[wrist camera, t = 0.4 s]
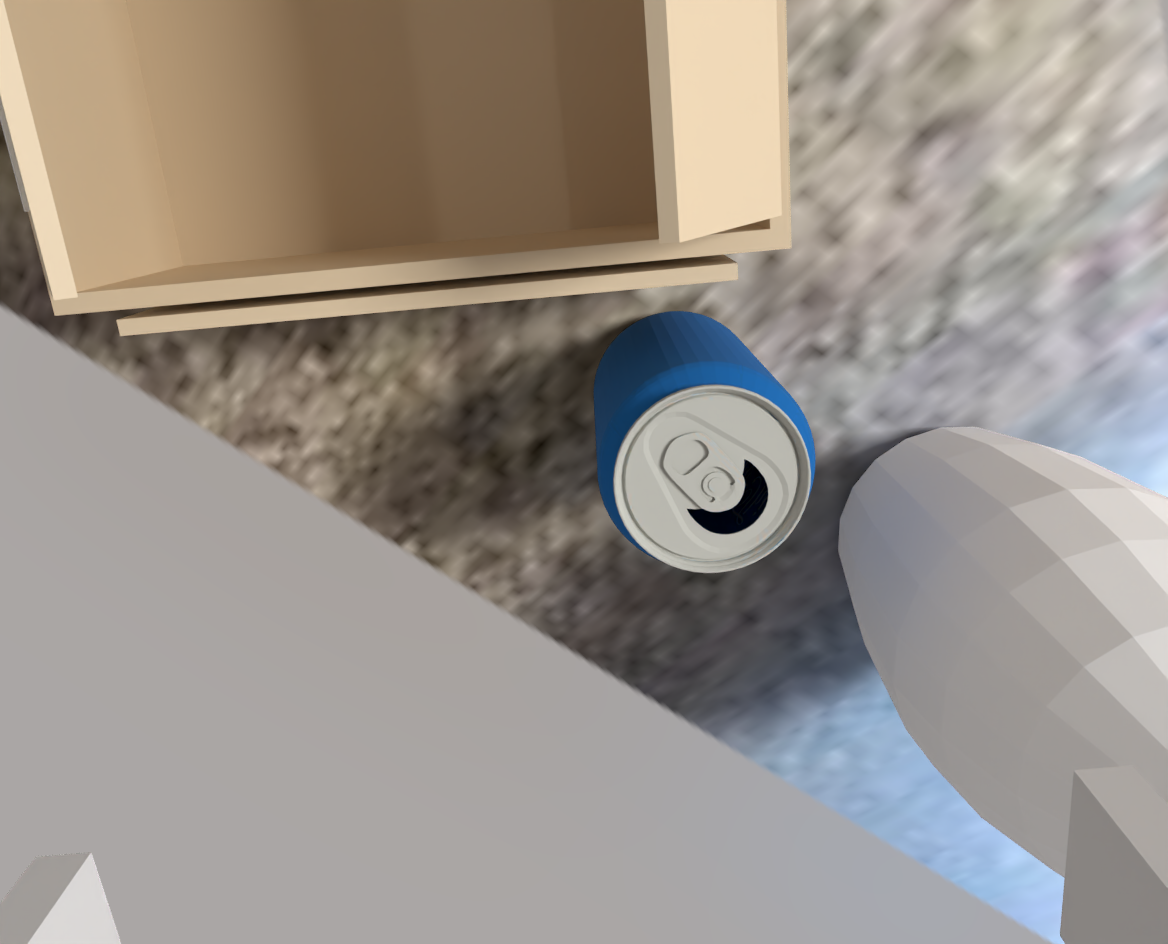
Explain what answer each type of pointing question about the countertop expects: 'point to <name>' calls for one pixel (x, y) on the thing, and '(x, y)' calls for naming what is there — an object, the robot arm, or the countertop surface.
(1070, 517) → the bottle
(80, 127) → the carton
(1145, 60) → the countertop surface
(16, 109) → the flap
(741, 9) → the flap
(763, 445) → the beverage can
